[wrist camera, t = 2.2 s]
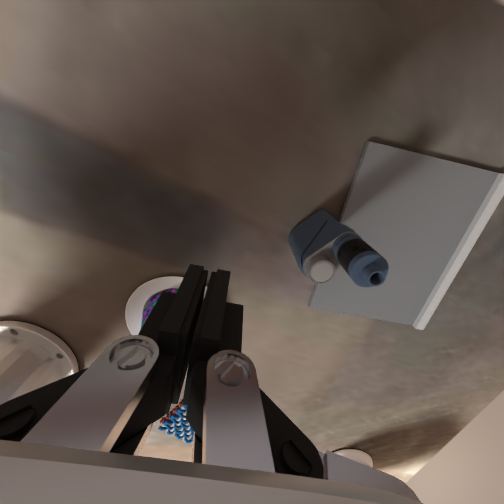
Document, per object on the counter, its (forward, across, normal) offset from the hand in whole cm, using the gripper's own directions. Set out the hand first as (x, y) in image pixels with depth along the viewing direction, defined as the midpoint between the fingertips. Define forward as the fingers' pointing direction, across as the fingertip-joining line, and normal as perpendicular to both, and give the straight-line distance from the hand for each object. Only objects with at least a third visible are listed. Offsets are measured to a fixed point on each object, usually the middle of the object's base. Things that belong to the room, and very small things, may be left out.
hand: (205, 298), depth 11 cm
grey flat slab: (+16, -17, +1) cm, 24 cm away
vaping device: (+16, -8, +1) cm, 18 cm away
